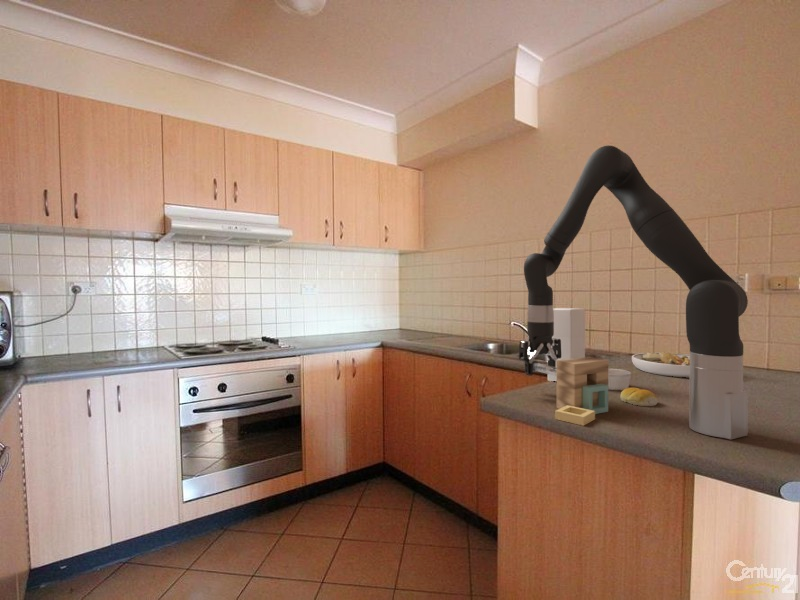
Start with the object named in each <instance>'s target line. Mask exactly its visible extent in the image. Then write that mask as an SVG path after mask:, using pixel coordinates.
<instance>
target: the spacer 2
mask: <svg viewBox="0 0 800 600" xmlns="http://www.w3.org/2000/svg"><path fill="white" fill-rule="evenodd" d="M593 392H598V406H593ZM583 409H588V410H593V411H595V415H597V414H602V413H603V414H604V413H608V412H609V390H608V385H605V384H596V385H589V386H583Z"/></svg>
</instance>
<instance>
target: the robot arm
mask: <svg viewBox="0 0 800 600" xmlns="http://www.w3.org/2000/svg"><path fill="white" fill-rule="evenodd" d="M637 167H638V166H637V165H636V164H635V163H634V161H633V159H632V158H631V157H630V155H628V153H626V152H625V151H623V150H621V149H620V148H618V147H616V146H615V145H614V146H613V145H603V146H601V147H599V148H597V149H596V150H594V151H593V153H592V154H591V155H590V156H589V158H588V160H587V162H586V163H585V165H584V167H583V169H582V172H581V173H580V176H579V177H578V180H577V182H576V184H575V186H574V188H573V191H572V192H571V195H570V197H569V199H568V200H567V202H566V204H565V206H564V207H563V209H562V211H561V213H560V214H559V216H558V217H557V218H556V221H555V222H554V223H553V224H552V226H551V227H550V229H549V231H548V232H547V233H546V236H545V237H544V240H543V243H544V245H545V246H544V248H543V250H542V252H541V253H539V252H537V253H536V252H534V253H531V254H529V255H528V256H527V257H526V258H525V261H524V265H523V275H524V279H525V285H526V288H527V291H528V292H527V293H528V294H527V295H528V296H527V299H528V300H527V303H528V304H527V319H526V320H527V323H526V324H527V325H526V326H527V328H526V329H527V330H526V331H527V336H528V340H519V347H518V360H519V361H522V362H523V363H524V373H525V375H526V376H529V377H531V376H533V374H534V372H533V363H532V362H533V360H534V361H535V359H536V358H537V357H538V355H545V356H546V357H547V365H548V366H553V367H556V360H557V359H558V358H561V340H560V339H557V338H553V339H552V336H553V335H554V311H553V308H554V299H553V298H554V293H553V287H552V286H550V285H549V284H548V277H551V276H553V275H554V273H555V272H556V271H557V270H558V269H559V267H560V264H561V262H562V261H563V258H564V256H565V254H566V251H567V249H568V248H569V247H570V246H571V244H572V243H573V241H574V240H575V239H576V238H577V236H578V234H579V232H580V231H581V229H582V227H583V225H584V222H585V220H586V217H587V214H588V211H589V208H590V205H592V202H593V200H594V199H595V197H596V195H597V194H598V193H599V192H600V190H601V189H602V188H603V187H605V188H606V189H607V190H608V191H609V192H610V193H612V195H613V196H614V197H615V199H617V201H619V203H621V205H622V207H623V208H624V211H625V214H626V216H627V219H628V222H629V223H630V225H631V228H632V230H633V232H634V233H635V234H636V235H637V237H638V238H639V240H641V242H642V244H643V245H644V246H645V247H646V248H647V249H648V250H649V252H651V253H652V255H654V256H655V257H656V258H657V259H658V260H660V261H661V262H662V263H663V264H664V265H666V266H667V267H669V269H671V270H672V271H673V272H674V273H675V274H677V275H678V277H680V279H681V280H682V282H684V284H685V286H686V287H687V288H688V290H689V292H687V293H688V294H687V296H686V299H685V328H686V329H685V330H686V331H685V333H686V338H687V341H688V344H689V355H690V376H689V378H688V379H689V387H688V388H689V389H688V390H689V391H688V394H689V399H688V401H689V402H688V403H689V405H688V407H689V409H688V413H689V415H688V427H689V429H690V430H692V431H694V432H697V433H700V434H702V435H706V436H711V437H717V438H721V439H727V440H736V439H740V438H742V437H747V436H748V425H749V422H748V419H749V418H748V417H749V416H748V409H749V406H748V405H749V393H748V391H747V390H745V389H744V343H743V340H741V335H740V324H739V323H740V322H739V321H740V320H739V318H740V317H741V316H742V315H743V314H744V313H745V311H746V310H747V307H748V303H749V302H748V301H749V300H748V295H747V293H746V291H745V290H744V288H743V287H742V286H741V285H740V284H738V283H737V282H736V281H735V280H734V279H733V278H732V277H731V276H730V275H728V273H727V272H726V271H725V270H723V269H722V268H721V266H719V265H718V264H717V263H716V262H715V260H713V258H711V256H710V255H709V254H708V252H707V251H706V250H705V248H704V246H703V245H702V244H701V242H700V241H699V240H698V238H697V237H696V236H695V235H694V233H693V232H692V231H691V230H690V228H689V227H688V226H687V224H686V222H684V220H683V219H682V217H680V216H679V214H678V213H677V212H676V211H675V209H673V208H672V207H671V206H670V204H669V203H668V202H667V201H666V200H665V199H664V198H663V197H661V195H660V194H659V193H657V192H656V191H655V190H654V189H653V188H652V187H651V186H650V185H649V183H647V181H646V180H645V179H644V177H643V175H642V174H641V173H640V171H639V169H638V168H637ZM551 346H552V347H551ZM556 350H557V351H556ZM548 359H549V360H548Z"/></svg>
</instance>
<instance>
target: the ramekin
mask: <svg viewBox="0 0 800 600" xmlns="http://www.w3.org/2000/svg"><path fill="white" fill-rule="evenodd" d="M631 377H632V372H631V371H628V370H626V369H621V368H620V369H619V368H609V367H608V391H623V390H624V389H627V388H630V381H631Z"/></svg>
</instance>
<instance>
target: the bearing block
mask: <svg viewBox="0 0 800 600" xmlns="http://www.w3.org/2000/svg"><path fill="white" fill-rule="evenodd" d="M608 368H609V360H608V359H604V358H599V357H597V358H596V357H592V356H585V357H584V358H574V359H564V360H557V383H556V408H557V409H560V408H562V407H565V406H567V405H569V406H574V407H579V408H583V386H589V385H596V384H605V385H608ZM593 406H598V392H593Z"/></svg>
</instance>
